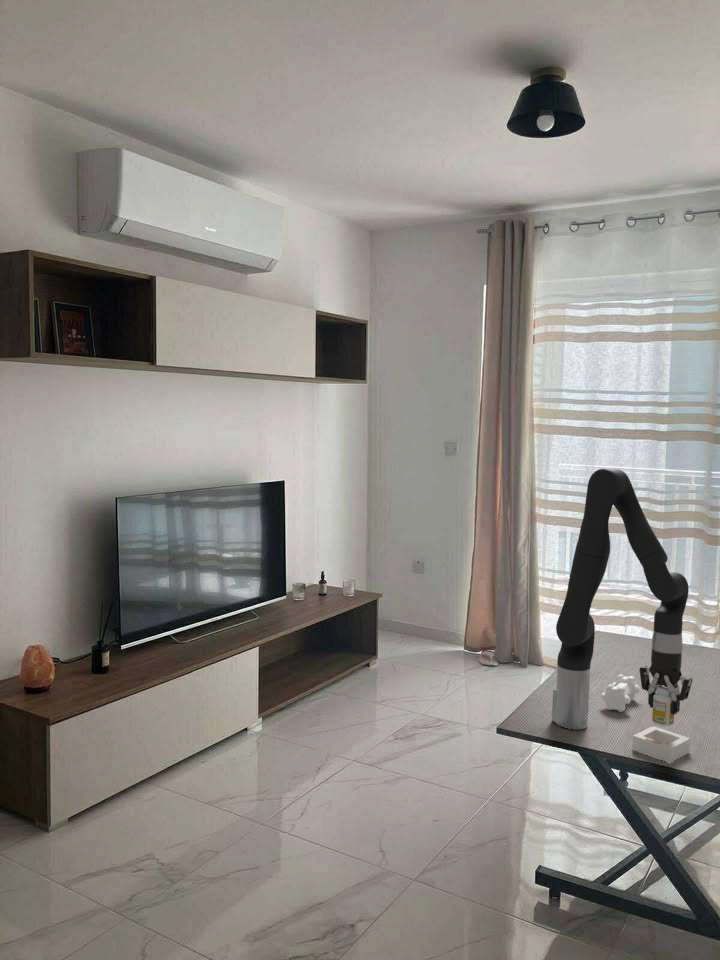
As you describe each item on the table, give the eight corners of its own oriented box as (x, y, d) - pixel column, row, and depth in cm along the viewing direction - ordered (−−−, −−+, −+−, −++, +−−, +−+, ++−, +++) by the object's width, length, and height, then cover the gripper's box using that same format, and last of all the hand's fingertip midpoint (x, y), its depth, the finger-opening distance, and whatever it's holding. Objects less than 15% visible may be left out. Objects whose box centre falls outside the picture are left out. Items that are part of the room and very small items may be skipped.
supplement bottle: (668, 719, 215) (670, 684, 215) (677, 726, 210) (679, 690, 209) (648, 719, 215) (650, 683, 214) (656, 726, 210) (658, 690, 209)
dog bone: (614, 697, 256) (613, 672, 256) (641, 700, 251) (640, 674, 251) (600, 711, 243) (599, 684, 243) (629, 714, 239) (628, 688, 238)
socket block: (632, 750, 214) (633, 734, 213) (652, 740, 221) (653, 725, 220) (669, 763, 206) (670, 747, 205) (689, 752, 213) (690, 737, 212)
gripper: (634, 644, 214) (631, 705, 215) (686, 657, 203) (682, 721, 204) (648, 639, 219) (645, 699, 220) (699, 651, 208) (696, 715, 209)
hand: (663, 710), depth 212 cm, fingers closed on supplement bottle, 5 cm apart
